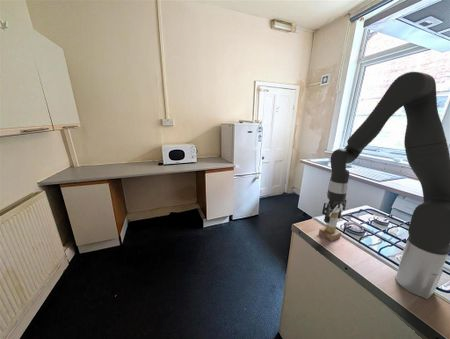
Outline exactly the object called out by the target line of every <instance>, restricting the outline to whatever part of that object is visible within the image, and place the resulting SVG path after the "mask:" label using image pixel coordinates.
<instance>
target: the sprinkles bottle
mask: <svg viewBox="0 0 450 339" xmlns="http://www.w3.org/2000/svg"><path fill="white" fill-rule="evenodd" d="M330 210H332V209H330ZM339 211H340V208H339V207H338V208H336V210H335V211H334V213H332V214H331V216H330V222H329V223H327V222H325V223H326V225H325V226H326V228H325V229H326V231H328V232H330V233H334V232H335V229H336V228H337V224H338V214H339ZM329 213H330V211H329ZM336 230H337V229H336Z"/></svg>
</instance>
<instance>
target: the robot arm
mask: <svg viewBox="0 0 450 339" xmlns="http://www.w3.org/2000/svg"><path fill="white" fill-rule="evenodd" d="M437 102H438V100H437V82H436V79H435V78H434V77H433V76H432V75H431V74H428V73H426V72H425V73H424V72H420V71H409V72H405V73H403V74H400V75H399V76H397V78H395V79H394V80H393V81H392V83H391V84H390V86H388V88H387V90H386V91H385V92H384V94H383V95H382V97H381V99H380V100H379V101H378V102H377V104H376V106H375V107H374V108H373V110H372V111H371V113H370V114H369V115H368V116H367V117H366V119H365V120H364V121H363V122H362V123H361V124H360V126H359V127H358V128H357V129H356V130H355V131H354V132H353V133H352V134H351V135H350V136H349V138H348V139H347V142H346V143H347V145H346V146H345V147H344V148H339V149H335V150H334V151H333V152H332V153H331V155H330V169H331V174H330V175H331V176H330V182H329V183H328V191H327V197H326V198H327V199H328V203H326V202H324V203H323V208H322V212H321V214H322V215H323V216H324V222H325V223H329V222H330V216H331V214H332V213H334V211H335V210H336V208H338V207H339V208H340V211H339V214H338V219H339V220H340V219H341V218H342V213H343V212H344V211H345V210H346V206H347V198H346V197H347V193H348V189H349V188H348V186H349V185H348V184H349V180H350V171H349V169H346V168H347V167H346V166H347V164H351V163H352V162H355V161H356V159H357V158H358V157H359V156H360V154H362V152H363V150H364V149H365V148H366V147H367V146H368V145H370V143H372V141H374V140H375V139H376V137H377V136H378V135H379V134H380V133H381V131H382V130H383V128H384V126H385V125H386V123H387V122H388V121H389V120H390V118H391V117H392V116H393V115H395V113H396V112H398V110H400V109H401V108H402V107H403V108H404V113H405V115H406V126H405V127H406V128H405V133H404V141H403V142H404V143H403V144H404V150H405V154H406V159H407V162H408V165H409V167H410V168H411V170H412V172H413V173H414V175H415V177H416V178H417V179H418V181H419V183H420V186H421V190H422V197H423V202H422V203H420V204H418V205H417V206H416V207H415V208H414V210H413V212H412V214H411V215H412V216H411V218H410V222H409V225H408V231H407V233H408V237H407V241H406V243H405V246H404V249H403V253H402V255H401V259H400V262H399V265H398V269H397V271H396V274H395V281H396V283H398V285H399V286H401V287H402V288H403V289H404V290H406V291H408V292H409V293H411V294H414V295H416V296H417V297H418V296H419V297H421V298H423V299H425V300H428V299H429V298H431V296H432V295H433V294H434V293H435V291H436V290H437V286H438V284H439V282H440V280H441V277H442V275H443V272H444V270H443V269H444V265H445V263H446V260H447V258H448V255H449V253H450V150H449V146H448V142H447V137H446V135H445V131H444V127H443V123H442V121H441V118H440V114H439V110H438V103H437ZM330 209H332V210H330ZM329 211H330V213H329Z"/></svg>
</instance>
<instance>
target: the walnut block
mask: <svg viewBox="0 0 450 339" xmlns="http://www.w3.org/2000/svg"><path fill="white" fill-rule="evenodd" d="M325 228H326V225H325V226H323V227H321V228H319V231H318V234H319V235H320V236H322V238H325V239H327V240H328V241H330V242H333V241H336V240H338V239H340V238H341V236H342V232H341V231H339V230H338V229H335V232H334V233H330V232H328V231H326V229H325Z"/></svg>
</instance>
